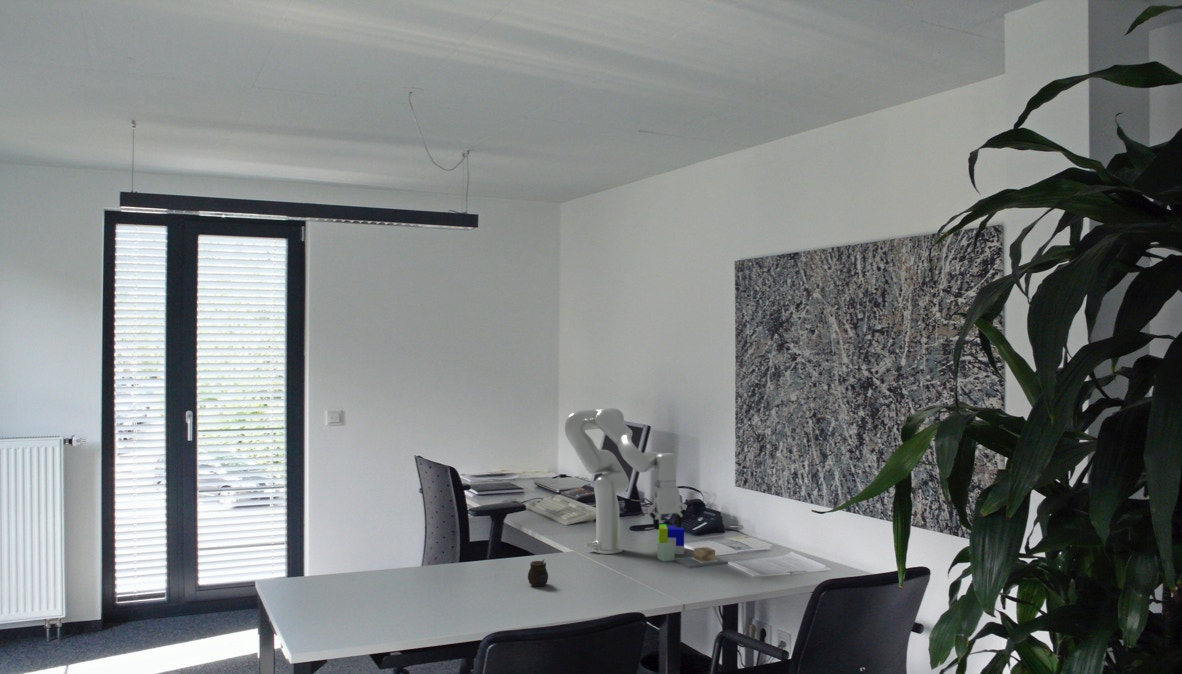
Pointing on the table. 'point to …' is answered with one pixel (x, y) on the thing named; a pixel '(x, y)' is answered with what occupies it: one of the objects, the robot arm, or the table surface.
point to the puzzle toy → (672, 536)
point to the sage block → (666, 551)
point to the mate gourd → (538, 573)
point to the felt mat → (699, 562)
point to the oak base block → (704, 554)
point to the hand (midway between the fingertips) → (667, 527)
